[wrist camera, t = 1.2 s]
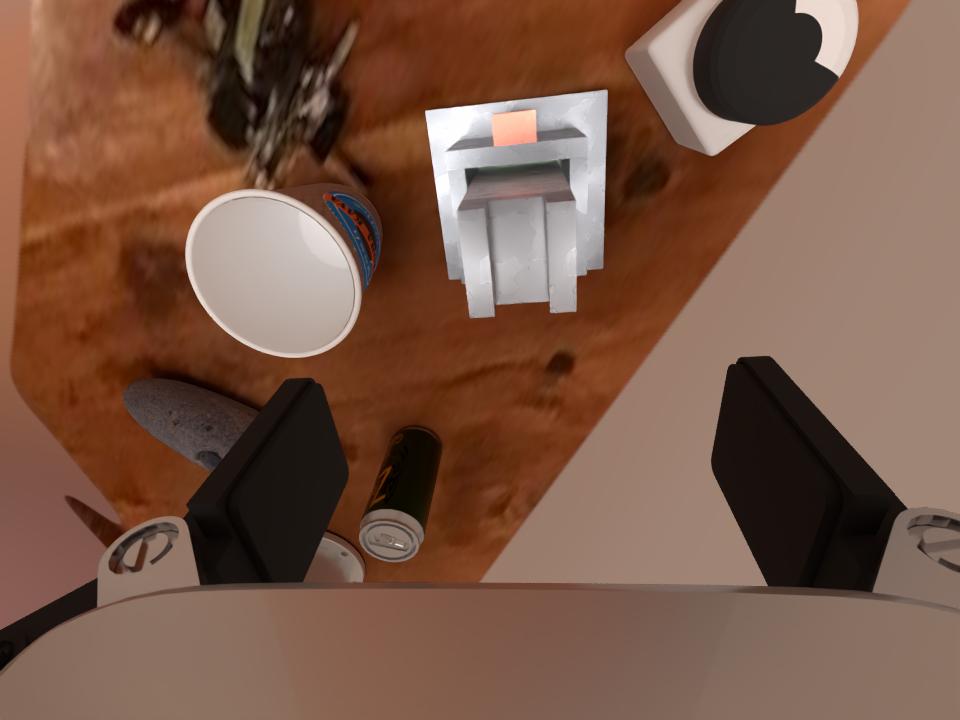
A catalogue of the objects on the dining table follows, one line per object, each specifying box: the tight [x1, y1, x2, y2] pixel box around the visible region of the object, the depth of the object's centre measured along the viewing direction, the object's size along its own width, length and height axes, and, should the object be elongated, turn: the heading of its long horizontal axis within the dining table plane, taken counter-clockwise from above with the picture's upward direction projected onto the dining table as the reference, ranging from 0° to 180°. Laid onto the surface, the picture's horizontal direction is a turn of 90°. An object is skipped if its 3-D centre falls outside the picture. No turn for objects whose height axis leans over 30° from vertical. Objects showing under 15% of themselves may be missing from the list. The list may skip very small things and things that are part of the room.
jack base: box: [425, 90, 608, 284], centre depth 32 cm, size 12×12×8 cm
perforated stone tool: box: [122, 378, 260, 472], centre depth 45 cm, size 15×5×7 cm, turn 58°
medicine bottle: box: [625, 0, 858, 156], centre depth 25 cm, size 7×7×12 cm
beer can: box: [359, 427, 442, 562], centre depth 44 cm, size 5×5×12 cm
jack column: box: [457, 159, 576, 318], centre depth 28 cm, size 5×5×15 cm
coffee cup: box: [186, 183, 383, 358], centre depth 33 cm, size 10×10×12 cm
